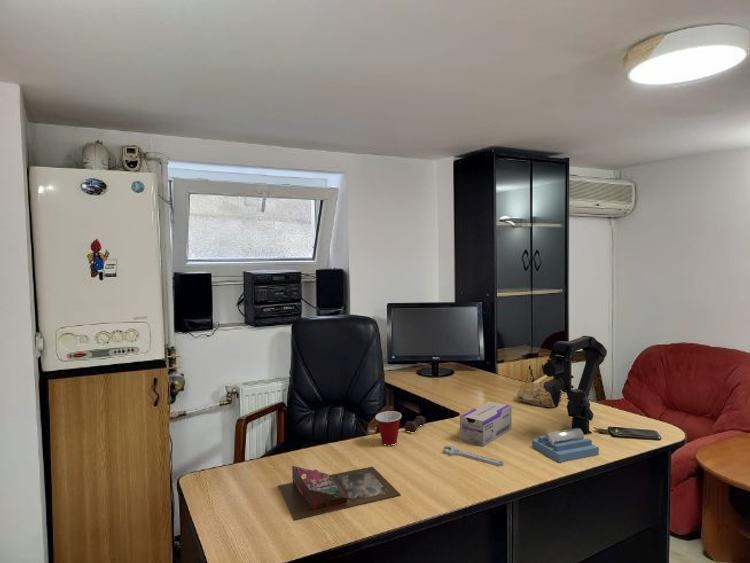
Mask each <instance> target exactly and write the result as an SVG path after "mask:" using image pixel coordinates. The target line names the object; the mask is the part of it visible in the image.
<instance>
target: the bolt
mask: <svg viewBox="0 0 750 563" xmlns="http://www.w3.org/2000/svg"><path fill="white" fill-rule="evenodd" d="M426 422H427V418H426V417H425V416H423V415H417V416H416V417H415V418H414V420H413V421H410V420H408V421H406V423H405V425H404V427H403V428H404V431H405V432H406V431H410V432H415V431H416V432H417V430H418V428H420V427H419V426H420V425H423V426H424V425H425V423H426ZM416 432H415V433H416Z"/></svg>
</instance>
